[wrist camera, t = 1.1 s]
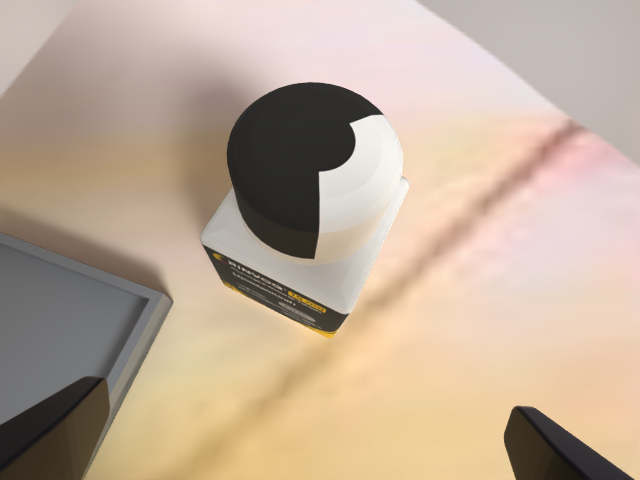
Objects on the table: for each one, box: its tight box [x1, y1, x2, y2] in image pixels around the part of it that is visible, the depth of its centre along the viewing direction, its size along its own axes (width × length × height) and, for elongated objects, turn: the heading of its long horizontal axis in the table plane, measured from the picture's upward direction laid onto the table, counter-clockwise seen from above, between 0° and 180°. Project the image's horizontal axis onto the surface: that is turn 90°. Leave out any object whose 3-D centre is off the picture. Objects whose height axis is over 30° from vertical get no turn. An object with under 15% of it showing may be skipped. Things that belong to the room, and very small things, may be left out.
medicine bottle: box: [200, 82, 409, 338], centre depth 19 cm, size 7×7×12 cm
